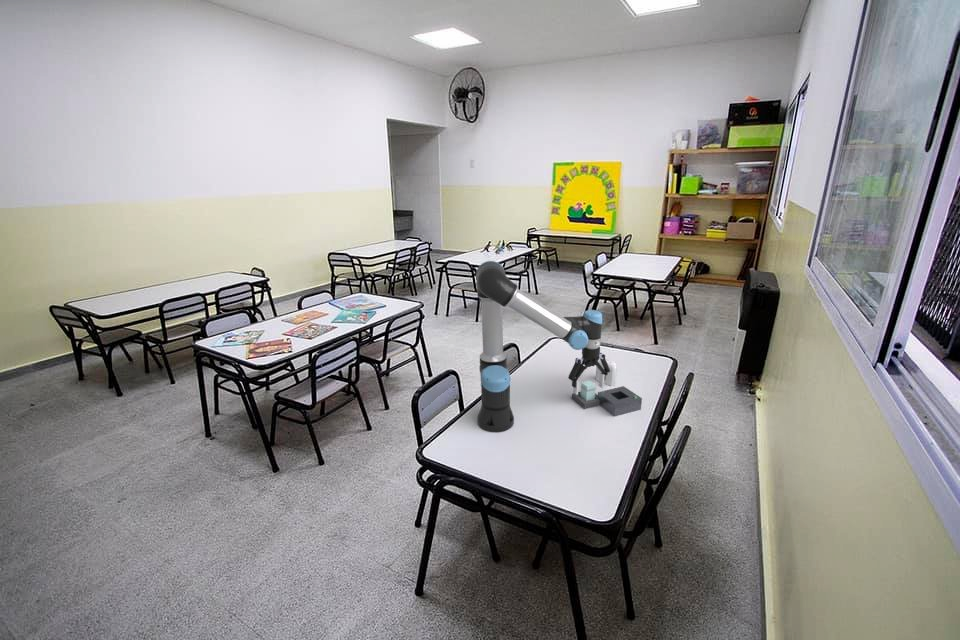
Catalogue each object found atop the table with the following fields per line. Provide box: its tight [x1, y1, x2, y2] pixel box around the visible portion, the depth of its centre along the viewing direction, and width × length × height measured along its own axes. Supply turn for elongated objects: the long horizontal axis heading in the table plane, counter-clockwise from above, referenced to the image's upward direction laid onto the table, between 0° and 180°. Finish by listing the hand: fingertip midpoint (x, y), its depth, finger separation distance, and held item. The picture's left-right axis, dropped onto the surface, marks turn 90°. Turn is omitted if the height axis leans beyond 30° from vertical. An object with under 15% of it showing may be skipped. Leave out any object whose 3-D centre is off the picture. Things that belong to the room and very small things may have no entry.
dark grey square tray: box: [571, 391, 601, 410], centre depth 195 cm, size 10×10×3 cm
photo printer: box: [595, 358, 618, 387], centre depth 211 cm, size 10×4×12 cm, turn 39°
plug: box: [580, 380, 597, 401], centre depth 194 cm, size 5×5×9 cm
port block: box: [597, 385, 643, 418], centre depth 190 cm, size 14×12×6 cm
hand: (588, 390), depth 194 cm, fingers open, 13 cm apart
